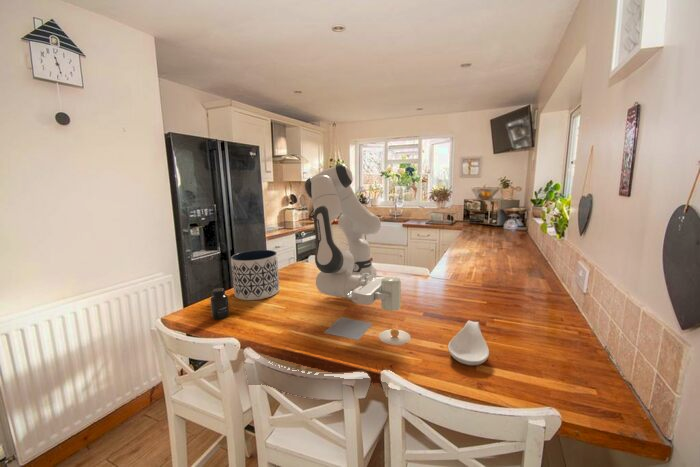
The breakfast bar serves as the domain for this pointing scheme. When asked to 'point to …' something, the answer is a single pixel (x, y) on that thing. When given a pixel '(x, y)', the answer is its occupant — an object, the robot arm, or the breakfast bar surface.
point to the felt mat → (348, 328)
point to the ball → (394, 332)
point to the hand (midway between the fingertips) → (393, 292)
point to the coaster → (391, 340)
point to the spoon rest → (469, 345)
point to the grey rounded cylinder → (394, 288)
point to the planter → (255, 274)
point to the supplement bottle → (219, 304)
